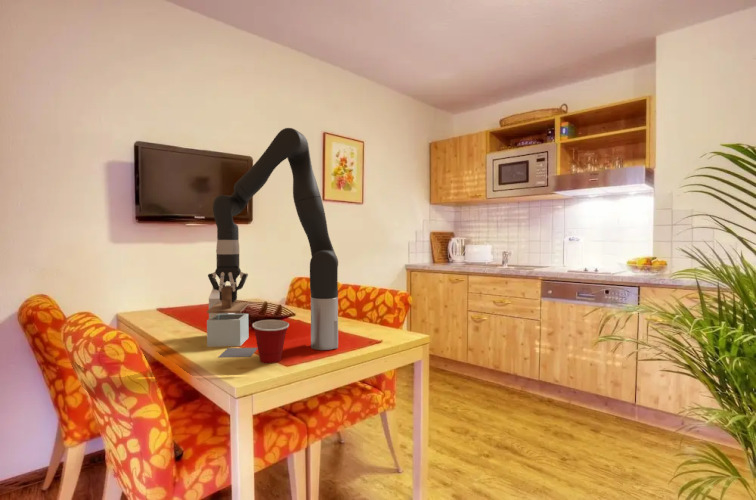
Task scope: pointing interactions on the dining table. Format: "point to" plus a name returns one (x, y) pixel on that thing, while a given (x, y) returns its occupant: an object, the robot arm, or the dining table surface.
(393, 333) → the dining table surface
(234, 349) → the mat
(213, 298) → the milk carton
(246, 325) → the grey storage bin
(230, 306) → the wooden t-shaped stand
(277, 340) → the plastic cup
